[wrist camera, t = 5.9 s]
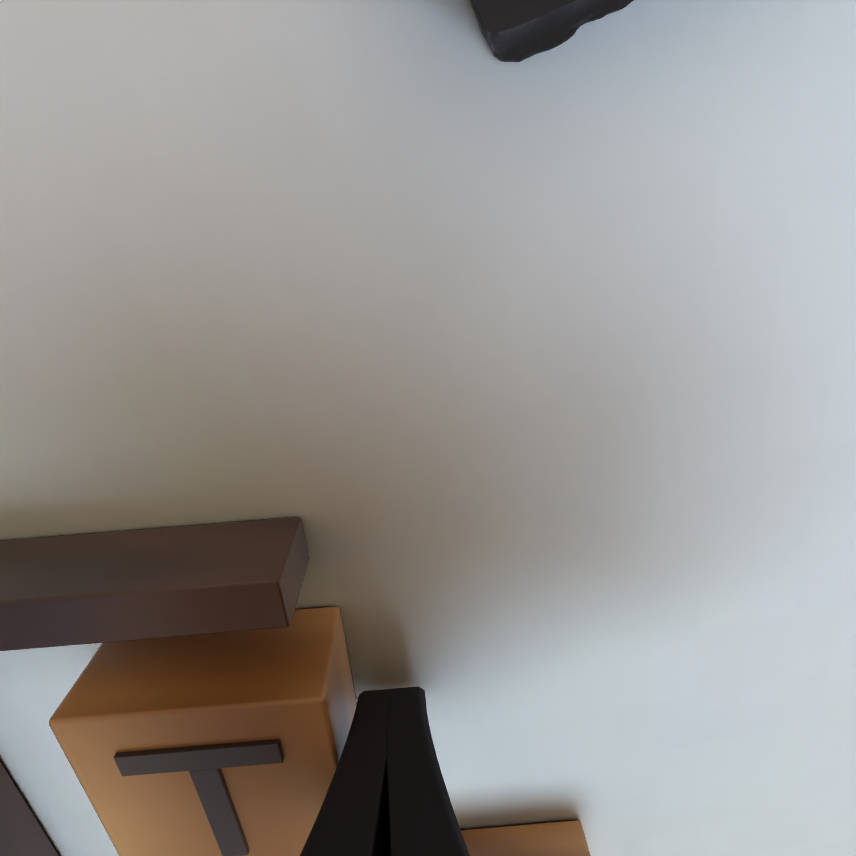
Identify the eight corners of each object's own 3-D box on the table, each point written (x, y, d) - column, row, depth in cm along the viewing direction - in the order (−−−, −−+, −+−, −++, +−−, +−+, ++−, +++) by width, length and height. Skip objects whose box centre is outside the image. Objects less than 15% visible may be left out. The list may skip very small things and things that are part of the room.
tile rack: (108, 987, 16) (75, 1075, 15) (-183, 553, 10) (-307, 627, 8) (389, 962, 16) (388, 1047, 15) (301, 515, 10) (279, 580, 8)
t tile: (174, 768, 12) (126, 885, 10) (114, 622, 10) (40, 728, 8) (366, 752, 12) (357, 865, 10) (340, 604, 10) (323, 705, 8)
